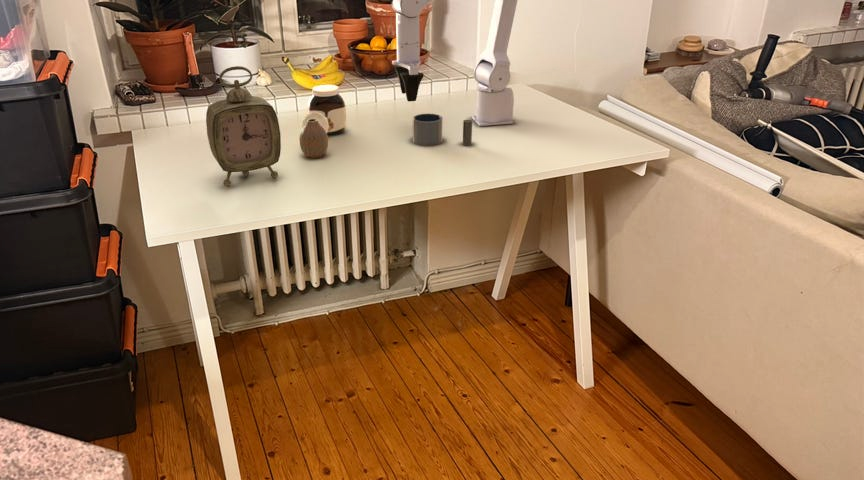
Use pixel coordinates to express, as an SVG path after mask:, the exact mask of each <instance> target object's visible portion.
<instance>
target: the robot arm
mask: <svg viewBox="0 0 864 480" xmlns="http://www.w3.org/2000/svg"><path fill="white" fill-rule="evenodd" d="M435 1H436V0H392V2H391V7H392V9H393V10H394V12H395V31H396V32H395V34H396V36H395V37H396V38H395V39H396V59H395V60H392V61H391V64H392V65H393V67H394V69H395V72H396V74H397V77H398V83H399V87H400V92H401V94H402V95H405V97H406V101H407V102H416V101H417V97H418V92H419V88H420V85H421V82H422V80H423V78H424V76H425V75H424V73H423V72H419V66H420V65H421V62H422V60H421V56H420V55H421V52H420V51H421V48H420V47H421V40H420V39H421V37H420V33H421V32H420V31H421V30H420V29H421V28H420V23H421V22H420V15H421V14H422V13H423V11H424V8H426V7H427V6H428V5H431V4H432V3H433V2H435ZM494 1H495V2H494V6H493V12H492V16H491V21H490V27H489V30H488V31H489V32H488V37H487V40H486V46H485V50H484V51H483V52H481V53H480V55H479V58H478V62H476V65H475V66H474V69H473V79H474V80H475V81H476V82H477V84H476V85H477V94H476V95H477V96H476V115H472V116H471V120H472V121H474V122H475V124H477V125H478V126H479V127H484V126H498V125H512V124H514V121H513V120H514V105H515V104H514V102H515V97H514V91H513V89H512V88H511V87H508V85H510V81H511V71H510V66H511V61H510V59H509V57H508V54H507V51H508V48H509V44H510V37H511V33H512V29H513V23H514V19H515V14H516V11H517V4H518V0H494Z"/></svg>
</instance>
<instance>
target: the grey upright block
mask: <svg viewBox="0 0 864 480" xmlns="http://www.w3.org/2000/svg"><path fill="white" fill-rule="evenodd" d="M462 122H463V123H462V145H463V146H465V147H469V146H472V144H473V143H472V141H473V119H464V120H463V121H462Z"/></svg>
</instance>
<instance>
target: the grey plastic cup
mask: <svg viewBox="0 0 864 480" xmlns="http://www.w3.org/2000/svg"><path fill="white" fill-rule="evenodd" d="M443 122H444V118H443V116H442V115H440V114H436V113H420V114H416V115H414V116H413V117H412V143H413V144H416V145H419V146H424V147H426V146H427V147H428V146H429V147H430V146H436V145H439V144H441V143H442V142H443V130H444V129H443V128H444V127H443V124H444V123H443Z"/></svg>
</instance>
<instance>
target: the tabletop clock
mask: <svg viewBox="0 0 864 480" xmlns="http://www.w3.org/2000/svg"><path fill="white" fill-rule="evenodd" d="M238 70H239V71H240V70H241V71H245V72H247V73H248V74H249V78H248V79H247V80H246V81H243V82H240V81H239V79H235V80H234V81H233V83H227V82H224V81H223V79H222V78H223V76H224V75H225V74H226V73H228V72H231V71H238ZM252 80H253V73H252V71H251V70H250V69H249V68H247V67H245V66H241V65H240V66H239V65H237V66H236V65H235V66H230V67H227V68H225V69H224V70H222V71H221V73H220V74H219V82H220V84H221V85H223V86H224V87H226V88H227V87H228V88H232V89H230V90H229V91H228V92H227V93H226V97H225V98H224V99H222V100H217V101H215V102H212V103H211V104H209V105H208V106H207V109H206V115H205V124H206V136H207V140H208V144H209V149H210V151H211V154H212V156H213V157H214V159H215V161H216V162H217V164H218V166H219V167H220V168H221V169H222V171H223V172H227V173H226V179H224V180H223V183H222V184H223V185H224V186H225V187H226V188H227V187H230V186H231V185H232V181H231V179H230V178H231V176H232V173H242V175H243V176H244V177H248V176H249V175H250V172H251V171H256V170H261V169H264V168H267V169H268V171H269V172H270V177H271V178H272V179H277V178H278V177H279V174H278V172H277V171H276V170H273V168H272V167H271V166H274V165H276V164H277V163H278V162H279V160H280V156H281V150H282V145H281V144H282V143H281V129H280V123H279V118H278V115H277V113H276V110H275V108H274V107H273V105H271V104H270V103H269V102H268V101H267V100H266V99H265V98H263V97H260V96H252V95H251V94H250V93H249V92H248V90H247V89H245V88H244V87H243V86H246V85H248V84H250V82H251V81H252Z"/></svg>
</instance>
